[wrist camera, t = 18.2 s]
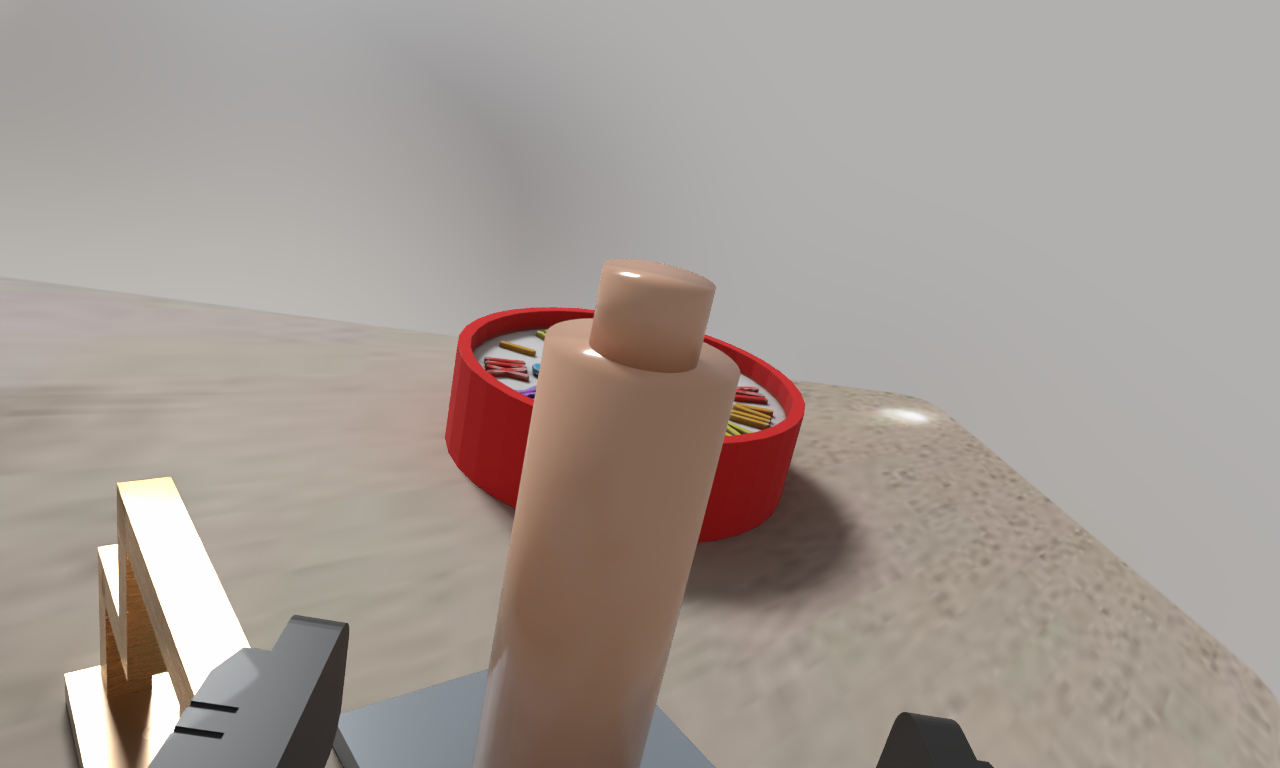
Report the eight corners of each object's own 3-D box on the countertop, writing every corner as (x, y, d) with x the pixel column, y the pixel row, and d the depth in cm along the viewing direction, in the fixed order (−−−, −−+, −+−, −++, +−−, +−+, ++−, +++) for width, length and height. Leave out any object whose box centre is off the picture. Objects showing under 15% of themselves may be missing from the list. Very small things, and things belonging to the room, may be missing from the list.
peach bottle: (442, 747, 27) (520, 243, 22) (576, 700, 30) (673, 249, 25) (523, 873, 23) (640, 310, 18) (665, 806, 27) (801, 307, 21)
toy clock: (867, 457, 44) (463, 423, 38) (835, 556, 46) (448, 537, 40) (739, 327, 62) (452, 291, 56) (720, 403, 64) (441, 375, 58)
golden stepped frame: (65, 699, 27) (54, 420, 24) (173, 673, 29) (175, 411, 26) (181, 1267, 16) (189, 887, 13) (345, 1164, 18) (389, 809, 14)
